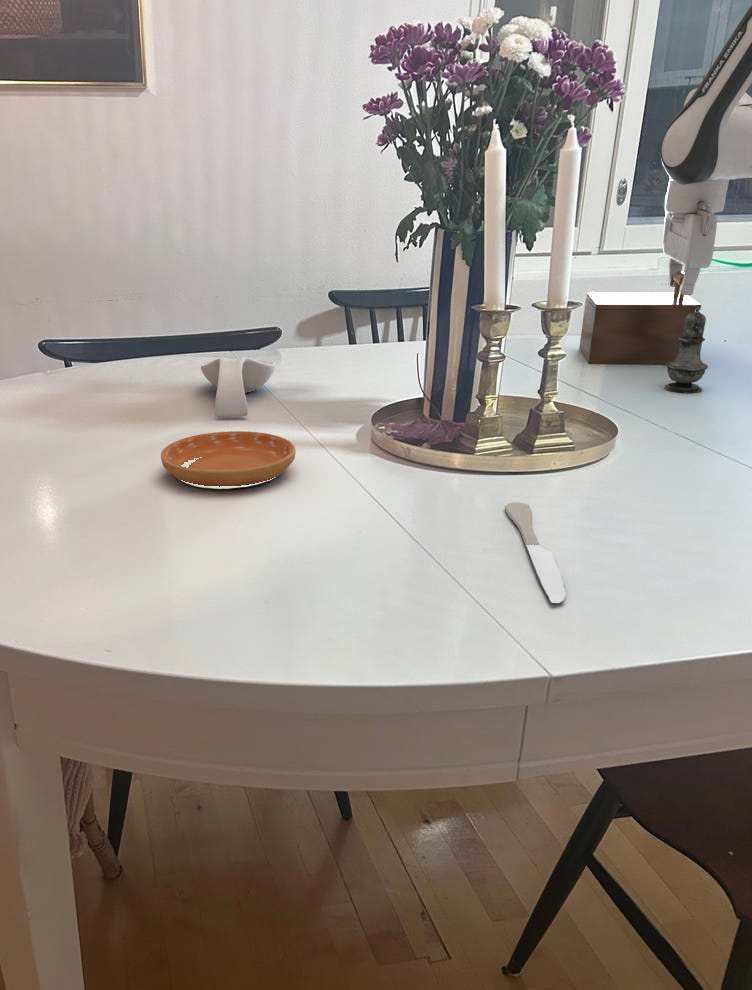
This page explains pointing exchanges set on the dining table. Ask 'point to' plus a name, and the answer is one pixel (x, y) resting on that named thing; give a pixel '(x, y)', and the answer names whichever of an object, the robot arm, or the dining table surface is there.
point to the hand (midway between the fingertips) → (679, 290)
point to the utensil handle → (522, 521)
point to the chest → (631, 335)
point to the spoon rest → (236, 382)
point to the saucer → (229, 458)
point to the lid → (645, 299)
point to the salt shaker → (688, 356)
